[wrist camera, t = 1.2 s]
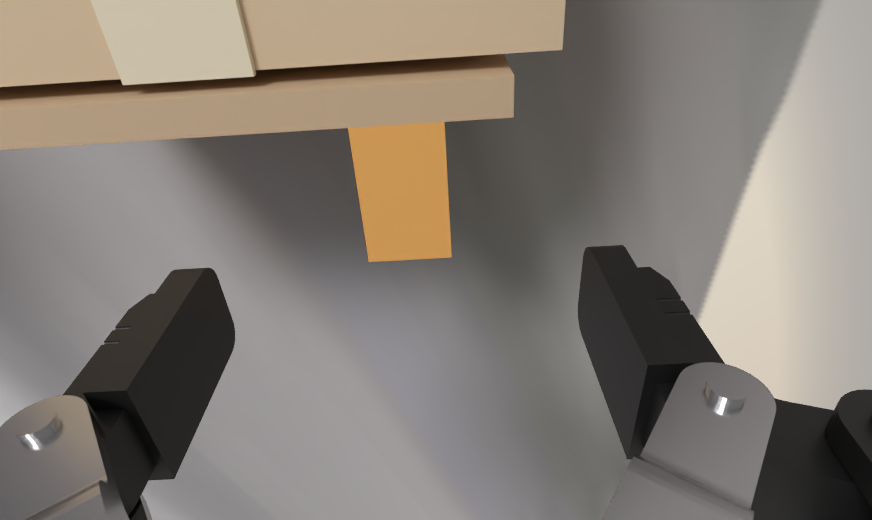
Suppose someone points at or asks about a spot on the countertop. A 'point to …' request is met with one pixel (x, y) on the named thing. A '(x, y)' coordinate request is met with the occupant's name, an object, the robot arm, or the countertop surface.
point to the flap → (298, 127)
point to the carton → (255, 35)
